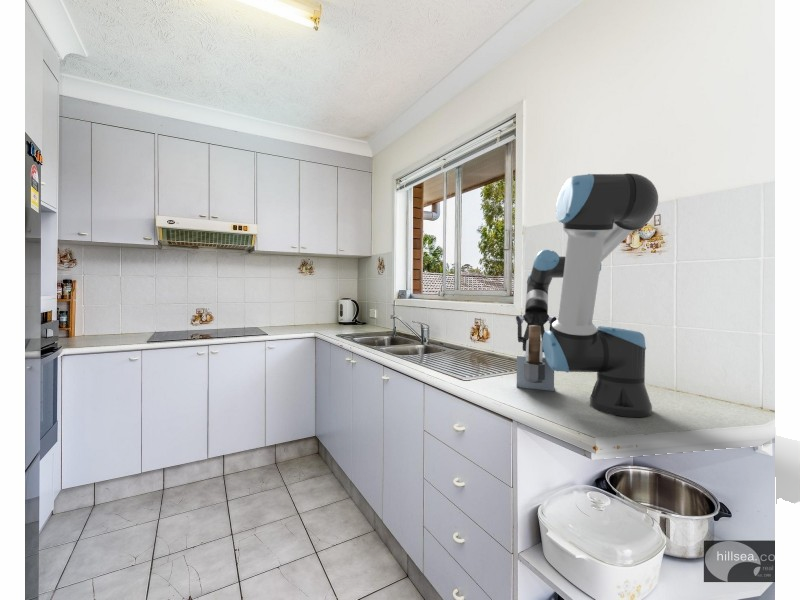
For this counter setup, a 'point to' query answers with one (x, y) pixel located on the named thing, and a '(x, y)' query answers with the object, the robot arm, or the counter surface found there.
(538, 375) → the cup bracket
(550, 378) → the wall board
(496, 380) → the counter surface
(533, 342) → the rail post
